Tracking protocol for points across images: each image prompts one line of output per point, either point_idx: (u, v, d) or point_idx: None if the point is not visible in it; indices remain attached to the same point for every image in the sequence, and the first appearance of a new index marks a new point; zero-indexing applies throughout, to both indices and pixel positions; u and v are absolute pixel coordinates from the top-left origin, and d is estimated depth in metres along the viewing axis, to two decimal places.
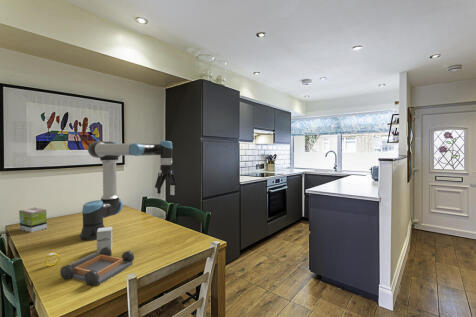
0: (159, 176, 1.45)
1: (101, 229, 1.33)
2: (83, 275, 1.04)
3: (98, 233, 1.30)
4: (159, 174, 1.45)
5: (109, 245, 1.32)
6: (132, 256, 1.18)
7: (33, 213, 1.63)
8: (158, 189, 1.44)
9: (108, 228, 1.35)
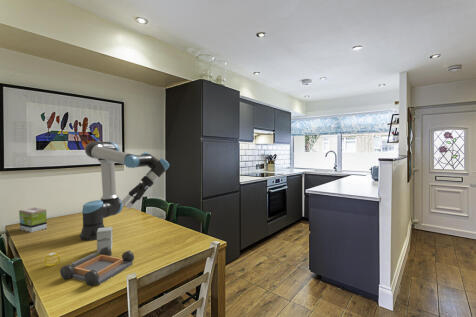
0: (144, 189, 1.40)
1: (101, 229, 1.33)
2: (83, 275, 1.04)
3: (98, 233, 1.30)
4: (145, 187, 1.40)
5: (109, 245, 1.32)
6: (132, 256, 1.18)
7: (33, 213, 1.63)
8: (135, 200, 1.36)
9: (108, 228, 1.35)
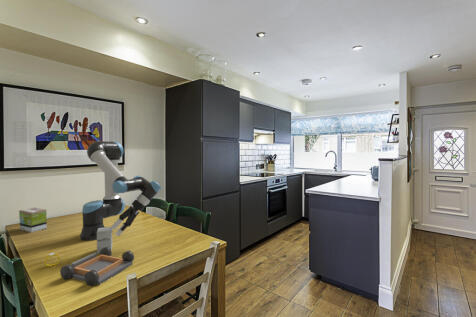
0: (135, 214, 1.36)
1: (101, 229, 1.33)
2: (83, 275, 1.04)
3: (98, 233, 1.30)
4: (136, 212, 1.36)
5: (109, 245, 1.32)
6: (132, 256, 1.18)
7: (33, 213, 1.63)
8: (125, 226, 1.32)
9: (108, 228, 1.35)
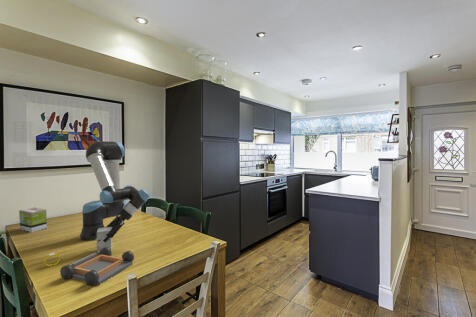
0: (119, 225, 1.33)
1: (101, 229, 1.33)
2: (83, 275, 1.04)
3: (98, 233, 1.30)
4: (121, 223, 1.33)
5: (109, 245, 1.32)
6: (132, 256, 1.18)
7: (33, 213, 1.63)
8: (108, 238, 1.30)
9: (108, 228, 1.35)
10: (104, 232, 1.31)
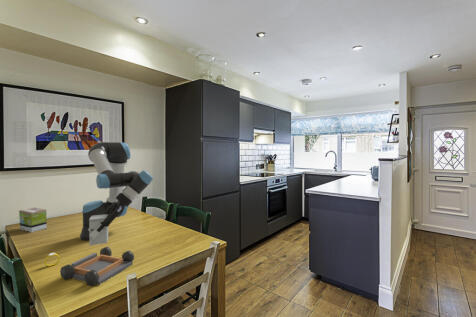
0: (116, 212, 1.10)
1: (95, 216, 1.10)
2: (83, 275, 1.04)
3: (91, 221, 1.07)
4: (118, 210, 1.10)
5: (104, 236, 1.09)
6: (132, 256, 1.18)
7: (33, 213, 1.63)
8: (102, 227, 1.07)
9: (103, 215, 1.12)
10: (98, 220, 1.08)
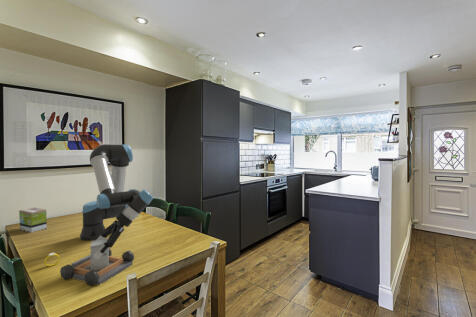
0: (119, 232, 1.10)
1: (95, 242, 1.10)
2: (83, 275, 1.04)
3: (92, 247, 1.07)
4: (120, 229, 1.11)
5: (106, 261, 1.10)
6: (132, 256, 1.18)
7: (33, 213, 1.63)
8: (106, 247, 1.06)
9: (104, 240, 1.12)
10: (100, 246, 1.08)
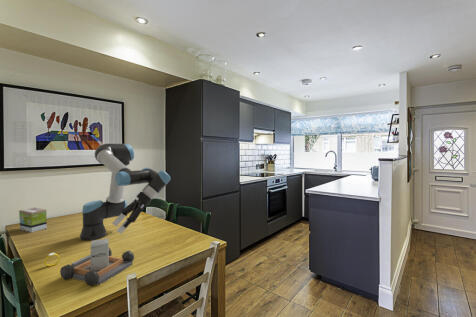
0: (140, 208, 1.16)
1: (95, 242, 1.10)
2: (83, 275, 1.04)
3: (92, 247, 1.07)
4: (141, 206, 1.16)
5: (106, 261, 1.10)
6: (132, 256, 1.18)
7: (33, 213, 1.63)
8: (128, 222, 1.12)
9: (104, 240, 1.12)
10: (100, 246, 1.08)
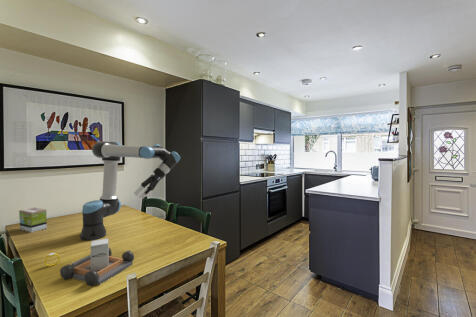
0: (157, 180, 1.44)
1: (95, 242, 1.10)
2: (83, 275, 1.04)
3: (92, 247, 1.07)
4: (158, 178, 1.45)
5: (106, 261, 1.10)
6: (132, 256, 1.18)
7: (33, 213, 1.63)
8: (148, 190, 1.40)
9: (104, 240, 1.12)
10: (100, 246, 1.08)
